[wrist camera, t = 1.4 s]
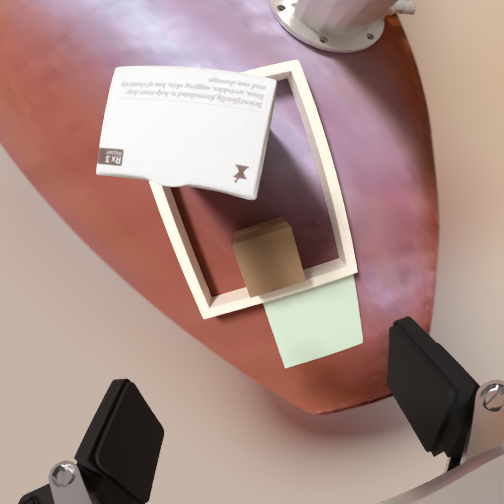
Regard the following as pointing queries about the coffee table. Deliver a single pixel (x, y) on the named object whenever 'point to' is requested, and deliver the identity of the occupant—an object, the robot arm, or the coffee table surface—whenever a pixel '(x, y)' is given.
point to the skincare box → (187, 128)
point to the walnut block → (268, 256)
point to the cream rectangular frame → (332, 196)
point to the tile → (316, 321)
